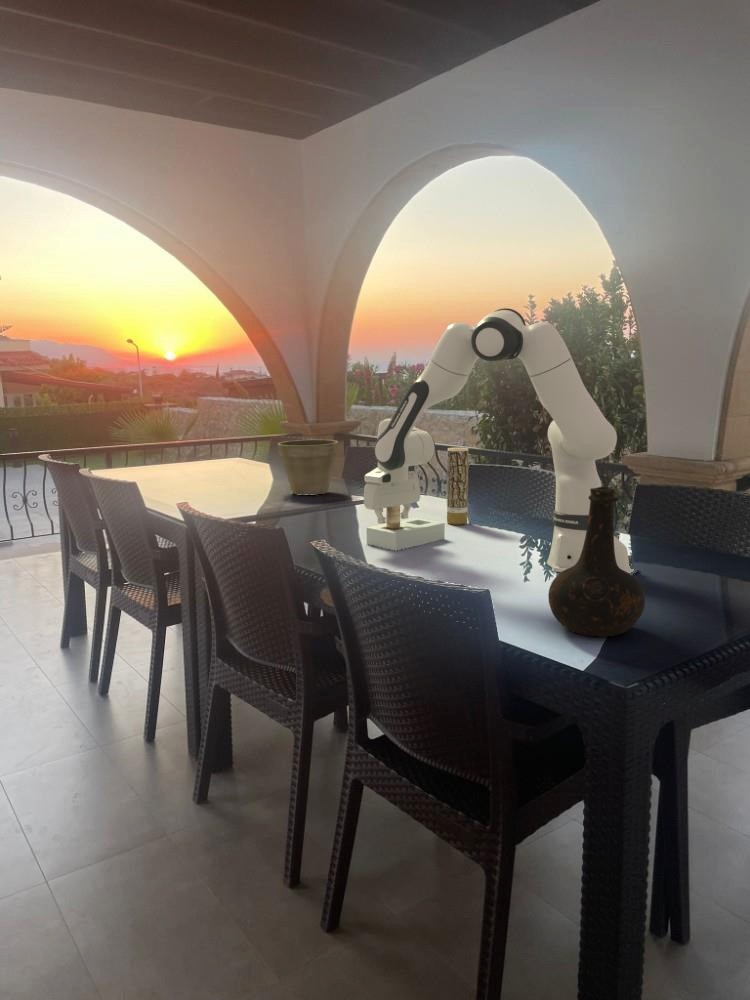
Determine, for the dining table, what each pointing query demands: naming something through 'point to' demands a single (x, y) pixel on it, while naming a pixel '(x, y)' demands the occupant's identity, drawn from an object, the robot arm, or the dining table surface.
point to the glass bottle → (597, 580)
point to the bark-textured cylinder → (457, 486)
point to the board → (406, 534)
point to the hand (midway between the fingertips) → (393, 520)
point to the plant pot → (308, 464)
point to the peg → (393, 518)
